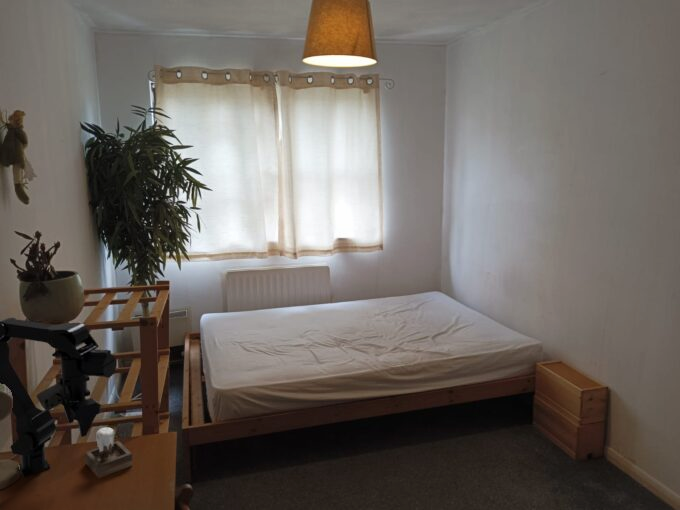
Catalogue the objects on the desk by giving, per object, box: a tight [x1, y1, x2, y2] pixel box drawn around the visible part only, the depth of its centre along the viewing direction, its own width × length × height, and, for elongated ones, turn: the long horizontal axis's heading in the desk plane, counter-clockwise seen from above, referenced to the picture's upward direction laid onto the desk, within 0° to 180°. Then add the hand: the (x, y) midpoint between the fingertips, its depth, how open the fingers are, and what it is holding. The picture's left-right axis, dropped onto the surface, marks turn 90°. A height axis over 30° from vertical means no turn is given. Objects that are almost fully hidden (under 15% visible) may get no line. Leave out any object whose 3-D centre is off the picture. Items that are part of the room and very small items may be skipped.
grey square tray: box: [85, 440, 133, 479], centre depth 146 cm, size 9×9×4 cm
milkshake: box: [95, 427, 116, 463], centre depth 145 cm, size 4×5×10 cm
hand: (77, 429), depth 139 cm, fingers open, 9 cm apart
